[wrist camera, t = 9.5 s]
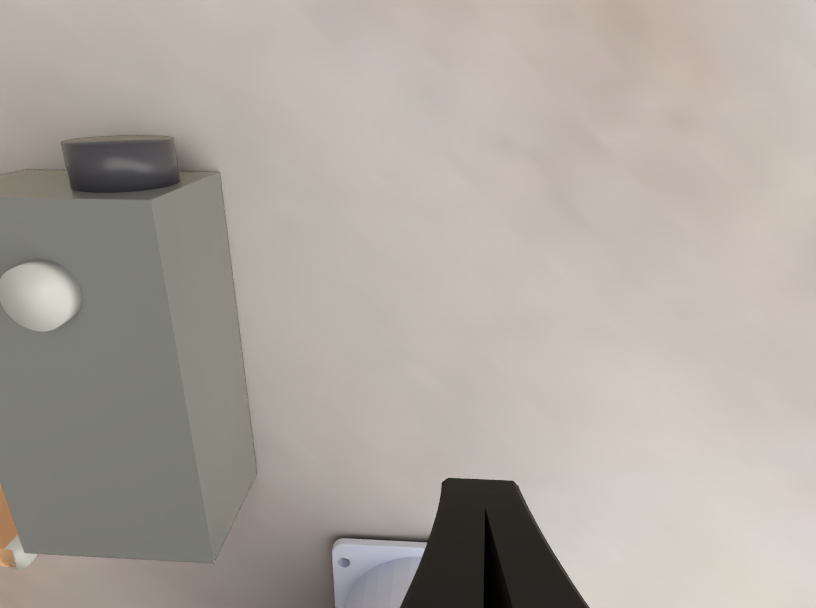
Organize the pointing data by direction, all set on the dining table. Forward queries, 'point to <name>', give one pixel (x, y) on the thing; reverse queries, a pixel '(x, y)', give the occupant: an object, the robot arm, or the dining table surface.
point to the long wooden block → (11, 540)
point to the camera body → (120, 356)
